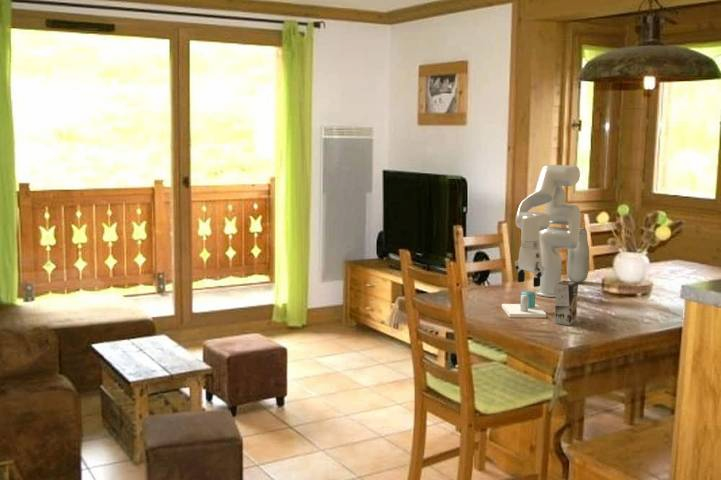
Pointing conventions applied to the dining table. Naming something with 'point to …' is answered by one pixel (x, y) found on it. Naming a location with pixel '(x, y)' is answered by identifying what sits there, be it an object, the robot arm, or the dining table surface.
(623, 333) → the dining table surface
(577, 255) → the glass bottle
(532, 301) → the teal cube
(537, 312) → the mount
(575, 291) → the coffee box
